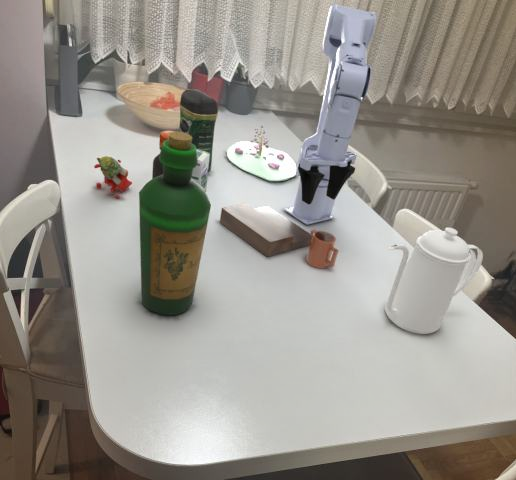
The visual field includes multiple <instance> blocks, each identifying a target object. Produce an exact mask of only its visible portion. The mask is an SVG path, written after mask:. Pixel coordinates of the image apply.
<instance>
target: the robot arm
mask: <svg viewBox="0 0 516 480" xmlns="http://www.w3.org/2000/svg"><path fill="white" fill-rule="evenodd" d="M376 25H377V15H376V12H375V11H371V12H370V11H366V10H364V9H363V10H362V9H358V8H354V7H349V6H344V5H340V4H337V3H335V2H333V4H332V5H330V8H329V10H328V14H327V18H326V24H325V29H324V34H323V35H324V36H323V40H322V52H323V53H324V54H325V55H326V56H327V57H328V71H327V76H326V77H327V78H326V83H325V86H324V87H325V88H324V93H323V98H322V102H321V107H320V113H319V118H318V124H317V127H316V133H315V134H313V135H311V136H309V137H307V138H305V139H304V141H302V144H301V146H300V147H301V148H300V151H299V154H298V158H297V159H298V160H297V162H296V175H297V176H298V177H299V181H298V186H297V190H296V196H295V198H294V202H293V206H291V207H286V208H285V209H284V212H286V213H288V214H289V215H291V216H293V217H294V218H296V219H297V220H298V221H300V222H302V223H303V224H305V225H313V224H316V223H321V222H324V221H327V220H331V219H333V218H334V216H333V215H332V211H333V209H334V204H335V201H336V198H338V196H339V193H340V192H341V190H342V188H343V186H344V185H345V183H346V182H347V181H348V180H349V178H350V177H351V176H352V175H353V174H354V173H355V171H356V167H355V166H353V165H355V163H356V160H357V154H356V153H354V152H352V151H348V149H349V145H350V142H351V138H352V134H353V131H354V128H355V124H356V121H357V117H358V114H359V110H360V106H361V103H362V102H364V101H365V98H366V96H367V94H368V91H369V88H370V84H371V79H372V66H370V65H367V63H368V62H367V61H368V60H367V58H368V57H367V55H368V53H367V51H368V47H369V45H370V43H371V41H372V39H373V35H374V32H375V29H376Z"/></svg>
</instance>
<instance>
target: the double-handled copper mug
mask: <svg viewBox="0 0 516 480" xmlns="http://www.w3.org/2000/svg"><path fill="white" fill-rule="evenodd" d="M310 234H311V235H313V236H312V240H311V243H310V245H309V247H308V250H307V255H306V257H305V261H306V263H307V264H308V265H309V266H311V267H313V268H316V269H325V268H327V267H328V266H329V267H331V268H333V267H334V266H335V263H336V260H337V257H338V254H339V249H338V248H336V247H335V245H336V241H337V238H336V237H335V236H334V234H331V232H327V231H323V230H316V229H314V230H311V231H310Z"/></svg>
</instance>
